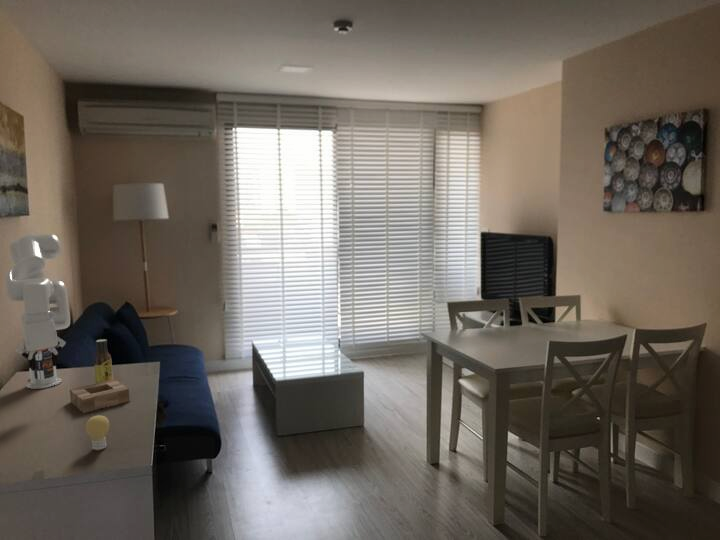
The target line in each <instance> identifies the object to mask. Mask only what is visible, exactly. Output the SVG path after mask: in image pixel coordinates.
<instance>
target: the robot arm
mask: <svg viewBox="0 0 720 540" xmlns="http://www.w3.org/2000/svg"><path fill="white" fill-rule="evenodd" d="M9 254H10V256H11V259H12V260H13V262H14V265H12V266H11V267H10V268H9V270H8V271H7V273H6V274H5V275H6V277H5V290H6V296H7V298H8V299H9V300H10V301H12V302H15V303H17V302H23V307H24V312H23V313H22V315H21V317H20V322H21V326H22V342H21V343H20V345H19V346H18V347H17V348H16V349H15V352H16V353H17V354H18V355H21V356H22V357H24V358H25V359H27V362H28V363H27V364H28V370H29V377H30V378H29V379H30V381H29V382H27V384H26V388H27V389H29V388H30V389H29V390H39V389H40V390H41V389H47V388H52V387H54V385H55V386H57V385H59V384H61V383H60V382H62V378H61V377H59V376H58V375H57V364H58V354H59V352H60V351H61V350H62V348H64V346H65V345H66V343H67V341H65V340H63V339H62V338H60V337H59V336H58V334H57V330H58V331H59V330H65V329H67V328H69V327H70V325H71V313H70V306H69V298H68V297H69V296H68V291H67V286H66V284H65V283H64V282H63V281H61V280H51V279H50V278H47V277H45V270H44V268H45V266H46V261H45V260H53V259H57V258H58V257H59V256H60V254H61V242H60V238H58V236H56V235H55V234H52V233H51V234H49V233H47V234H45V233H44V234H43V233H42V234H29V235H23V236H21V237H20V238H19V239H18V240H13V241H12V242H10V244H9ZM50 305H55V306H52V307H50ZM23 349H24V350H26V351H27V352H26V351H25V352H24V351H23ZM41 349H48V350H49V351H51V352H52V359H53V369H54V376H53V377H51V378H48V379H42V380H38V379H35V374H34V370H35V365H34V359H33V354H34V353H35V352H36V351H38V350H41ZM51 386H52V387H51Z"/></svg>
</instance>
